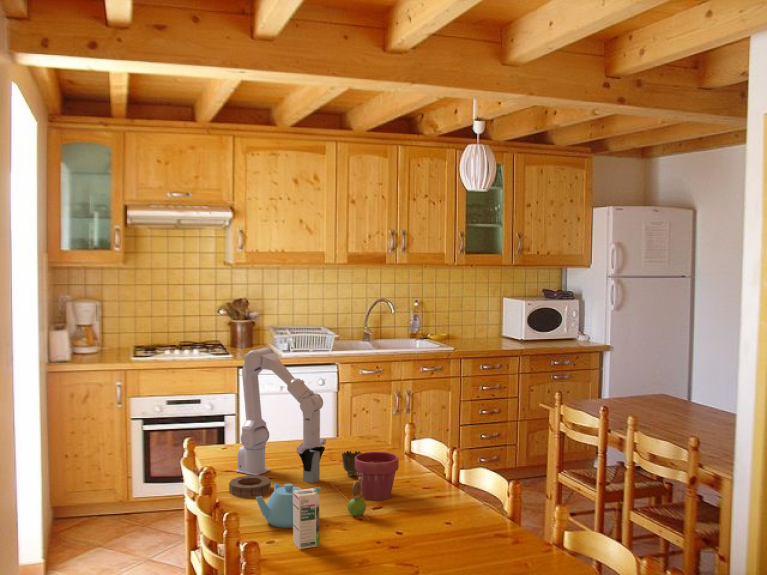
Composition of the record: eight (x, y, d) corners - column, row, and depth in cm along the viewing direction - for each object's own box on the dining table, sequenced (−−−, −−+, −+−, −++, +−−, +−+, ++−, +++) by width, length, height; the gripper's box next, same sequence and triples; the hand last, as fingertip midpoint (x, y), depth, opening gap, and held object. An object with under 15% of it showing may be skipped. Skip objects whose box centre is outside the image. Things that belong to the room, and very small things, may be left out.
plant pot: (360, 487, 251) (360, 449, 251) (401, 490, 248) (402, 452, 248) (349, 501, 237) (349, 461, 237) (393, 505, 234) (393, 464, 234)
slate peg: (303, 481, 257) (303, 452, 257) (310, 478, 261) (310, 449, 260) (312, 483, 255) (312, 454, 255) (319, 480, 259) (319, 451, 258)
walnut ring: (221, 492, 245) (221, 483, 245) (247, 482, 256) (247, 473, 256) (252, 499, 238) (252, 490, 238) (278, 488, 249) (278, 479, 249)
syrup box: (299, 550, 199) (299, 496, 198) (292, 542, 204) (292, 489, 204) (319, 546, 201) (319, 493, 200) (312, 539, 207) (312, 486, 206)
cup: (364, 473, 267) (364, 450, 267) (361, 479, 260) (361, 456, 259) (343, 472, 268) (343, 450, 268) (340, 478, 261) (340, 455, 260)
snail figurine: (369, 512, 227) (369, 473, 227) (362, 520, 221) (362, 479, 221) (352, 510, 229) (352, 471, 229) (344, 517, 223) (345, 477, 222)
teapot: (252, 526, 215) (252, 489, 215) (274, 509, 230) (275, 474, 229) (301, 533, 211) (301, 495, 210) (321, 515, 225) (321, 479, 225)
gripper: (308, 436, 249) (308, 476, 250) (333, 427, 261) (333, 465, 262) (291, 433, 252) (291, 473, 253) (316, 424, 265) (316, 462, 266)
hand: (311, 469), depth 258 cm, fingers closed on slate peg, 4 cm apart
